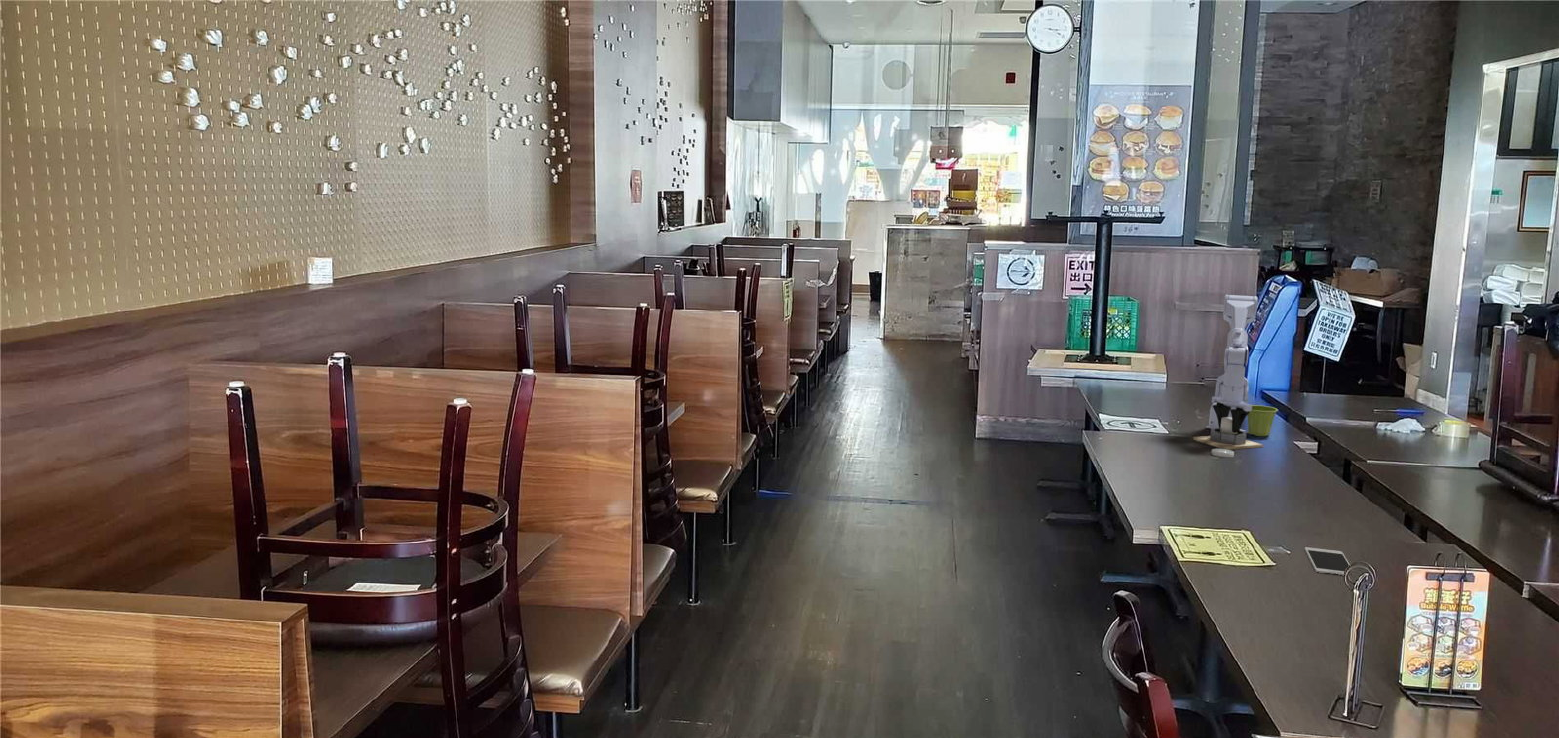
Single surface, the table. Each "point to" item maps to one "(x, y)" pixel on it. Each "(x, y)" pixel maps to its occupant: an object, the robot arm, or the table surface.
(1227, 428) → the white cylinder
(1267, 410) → the plant pot
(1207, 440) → the mount plate
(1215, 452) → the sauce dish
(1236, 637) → the table surface
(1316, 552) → the smartphone
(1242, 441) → the lens ring
